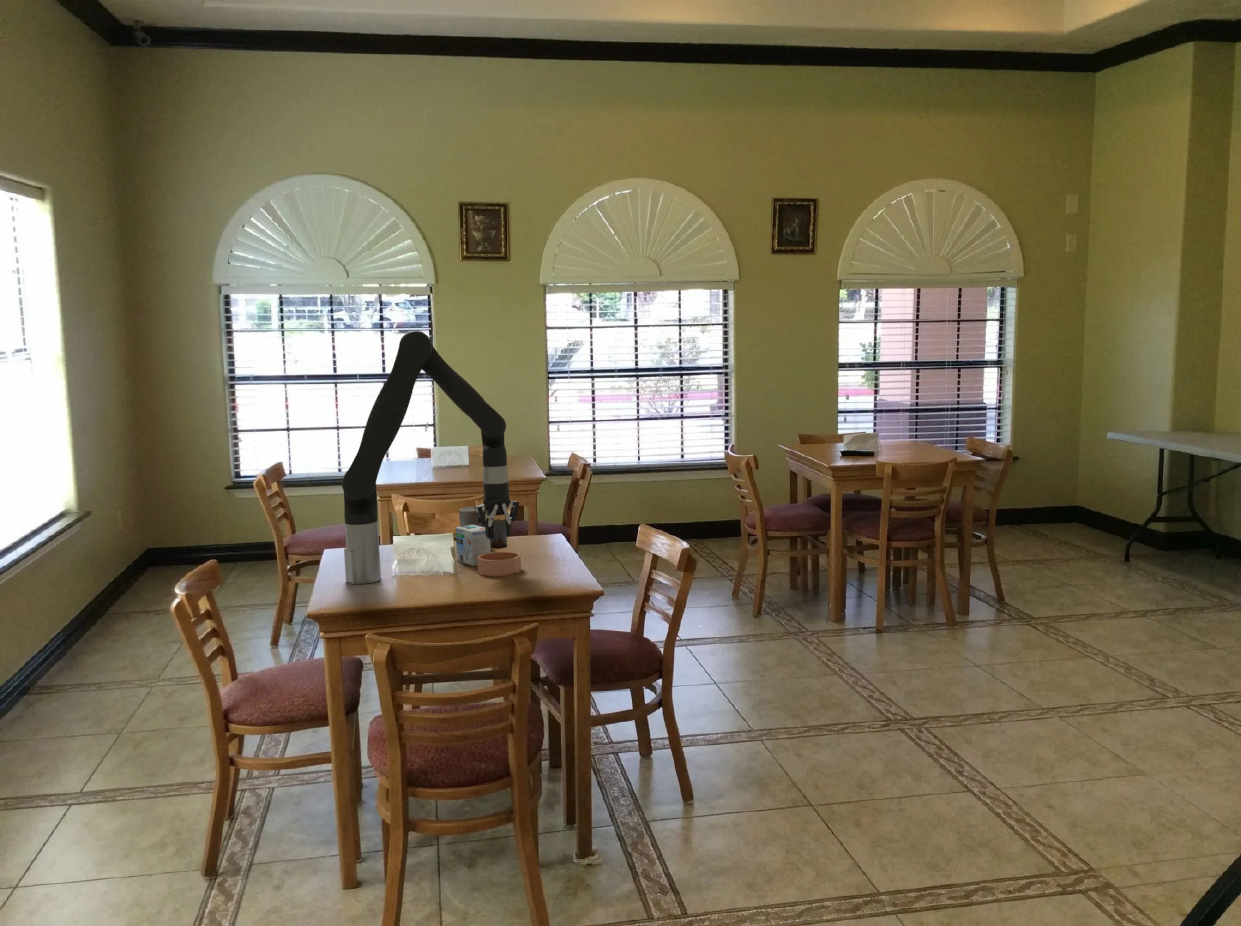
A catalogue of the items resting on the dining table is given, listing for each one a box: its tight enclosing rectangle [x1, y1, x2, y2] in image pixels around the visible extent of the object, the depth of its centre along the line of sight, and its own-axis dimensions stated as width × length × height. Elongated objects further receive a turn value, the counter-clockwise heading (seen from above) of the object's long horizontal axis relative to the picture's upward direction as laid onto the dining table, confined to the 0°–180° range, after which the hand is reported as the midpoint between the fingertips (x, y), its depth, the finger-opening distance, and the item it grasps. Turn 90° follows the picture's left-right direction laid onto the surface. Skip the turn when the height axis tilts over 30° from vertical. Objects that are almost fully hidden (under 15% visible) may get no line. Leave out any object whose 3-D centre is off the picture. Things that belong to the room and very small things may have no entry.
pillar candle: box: [458, 505, 487, 528], centre depth 334 cm, size 10×10×15 cm
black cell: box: [489, 514, 508, 550], centre depth 300 cm, size 5×5×10 cm
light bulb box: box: [455, 525, 492, 567], centre depth 315 cm, size 11×7×11 cm, turn 37°
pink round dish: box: [477, 551, 522, 577], centre depth 301 cm, size 13×13×4 cm
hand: (498, 537), depth 300 cm, fingers closed on black cell, 5 cm apart
